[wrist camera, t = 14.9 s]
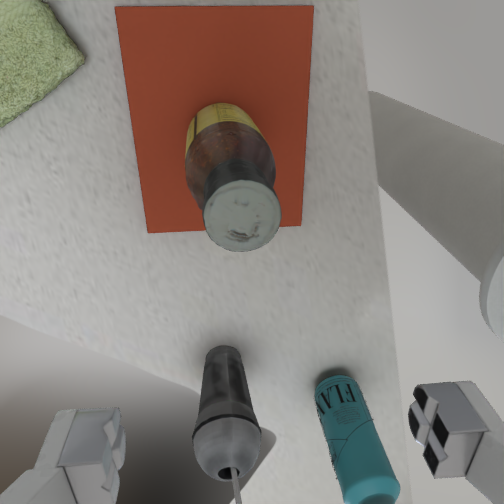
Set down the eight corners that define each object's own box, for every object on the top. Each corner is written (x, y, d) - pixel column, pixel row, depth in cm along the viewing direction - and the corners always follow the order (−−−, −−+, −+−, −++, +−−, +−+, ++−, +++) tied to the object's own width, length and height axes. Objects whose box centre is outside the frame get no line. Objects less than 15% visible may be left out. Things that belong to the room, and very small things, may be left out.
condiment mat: (311, 5, 34) (314, 5, 34) (299, 221, 44) (301, 226, 43) (116, 6, 33) (114, 6, 32) (148, 229, 43) (147, 233, 42)
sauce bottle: (222, 180, 40) (234, 300, 23) (173, 134, 38) (145, 230, 20) (271, 132, 38) (325, 222, 21) (223, 80, 36) (239, 135, 18)
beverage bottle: (348, 358, 55) (413, 514, 38) (361, 389, 58) (427, 545, 41) (303, 376, 56) (346, 536, 38) (319, 405, 59) (366, 565, 42)
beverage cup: (182, 361, 52) (171, 529, 35) (222, 327, 50) (230, 489, 33) (224, 387, 55) (231, 554, 38) (262, 356, 53) (290, 518, 36)
